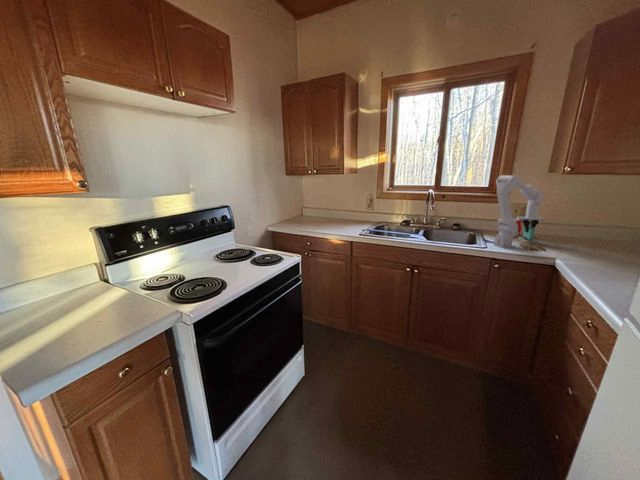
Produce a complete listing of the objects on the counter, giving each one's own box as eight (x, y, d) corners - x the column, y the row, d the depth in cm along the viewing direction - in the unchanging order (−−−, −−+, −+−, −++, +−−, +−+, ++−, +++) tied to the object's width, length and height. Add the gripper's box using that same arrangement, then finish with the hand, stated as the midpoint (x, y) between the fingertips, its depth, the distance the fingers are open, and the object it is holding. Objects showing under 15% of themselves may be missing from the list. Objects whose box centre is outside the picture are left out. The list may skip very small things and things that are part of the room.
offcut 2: (525, 249, 159) (526, 245, 159) (522, 247, 164) (523, 243, 163) (529, 250, 159) (530, 245, 158) (526, 248, 163) (527, 243, 162)
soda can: (518, 237, 189) (521, 220, 185) (507, 235, 194) (509, 219, 191) (522, 236, 193) (525, 219, 189) (511, 234, 198) (513, 218, 195)
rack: (525, 251, 159) (525, 248, 159) (518, 246, 169) (518, 243, 168) (545, 252, 157) (546, 249, 156) (537, 247, 166) (538, 244, 165)
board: (529, 239, 170) (531, 228, 168) (522, 235, 178) (524, 225, 176) (533, 239, 169) (535, 228, 167) (526, 235, 178) (528, 225, 176)
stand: (525, 245, 170) (526, 241, 169) (517, 240, 181) (518, 236, 180) (536, 246, 168) (537, 241, 168) (527, 241, 180) (528, 236, 179)
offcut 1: (522, 247, 164) (523, 242, 163) (519, 245, 168) (520, 240, 167) (526, 247, 163) (527, 242, 162) (523, 245, 167) (524, 240, 166)
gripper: (521, 211, 167) (518, 232, 171) (549, 211, 164) (545, 233, 167) (516, 209, 174) (513, 230, 177) (543, 209, 170) (539, 230, 174)
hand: (528, 231), depth 173 cm, fingers closed on board, 2 cm apart
